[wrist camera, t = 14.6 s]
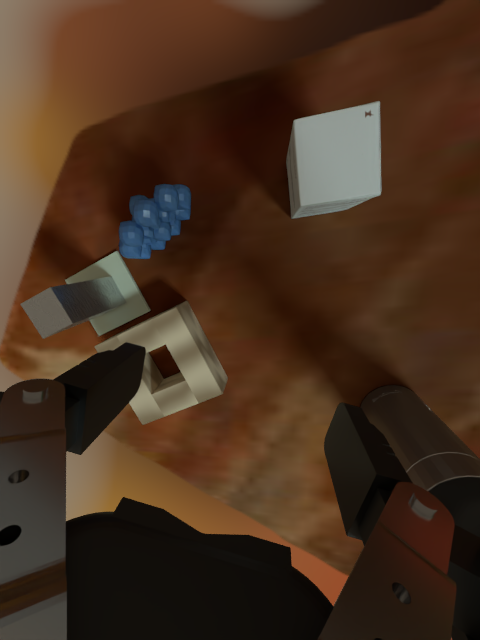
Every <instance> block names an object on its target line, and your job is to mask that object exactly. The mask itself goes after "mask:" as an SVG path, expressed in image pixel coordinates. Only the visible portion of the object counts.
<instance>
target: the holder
mask: <svg viewBox="0 0 480 640" xmlns="http://www.w3.org/2000/svg"><path fill="white" fill-rule="evenodd" d="M125 342H128V343H132V344H136V345H139V346H143V347H145V349H146V355H145V361H144V367H143V373H142V379H141V384H140V387H139V389H138V392H137V393H136V395H135V396H134V398H133V399H132V400H131V401H130V402H129V404H130V405H131V407H132V408H133V410H134V412H135V413H136V415H137V416H138V418H139V420H140V421H141V423H142V425H144V424H147V423H149V422H152V421H154V420H157V419H159V418H162V417H165V416H167V415H170V414H172V413H175V412H177V411H180V410H183V409H185V408H188V407H190V406H193V405H195V404H198V403H201V402H203V401H206V400H208V399H211V398H213V397H216V396H219V395H221V394H223V391H224V388H225V385H226V382H227V379H228V377H227V375H226V373H225V372H224V370H223V368H222V366H221V364H220V362H219V360H218V358H217V356H216V354H215V353H214V351H213V349H212V347H211V345H210V343H209V341H208V339H207V337H206V335H205V334H204V332H203V330H202V328H201V326H200V324H199V322H198V320H197V318H196V316H195V315H194V313H193V311H192V309H191V307H190V305H189V303H188V301H185V302H183V303H181V304H179V305H176V306H174V307H172V308H170V309H168V310H166V311H164V312H162V313H160V314H158V315H156V316H154V317H152V318H150V319H147V320H145V321H143V322H141V323H139V324H137V325H135V326H133V327H131V328H129V329H127V330H125V331H123V332H121V333H119V334H116V335H114V336H112V337H111V338H109V339H107V340H105V341H104V342H102V343H100V344H98V345H96V346H95V349H96V350H97V352H98V353H100V352H103V351H107V350H112V351H113V350H115V349H116V348H118V347H119V346H121V345H122V344H124V343H125ZM165 344H166V346H167V348H168V350H169V351H170V353H171V355H172V357H173V358H174V360H175V362H176V364H177V366H178V367H179V369H180V371H181V372H179V373H177V374H175V375H172V376H170V377H168V378H165V379H164V378H163V377H162V375H161V373H160V371H159V370H158V368H157V366H156V364H155V363H154V361H153V359H152V357H151V356H150V354H149V352H150V351H152V350H154V349H156V348H159V347H161V346H163V345H165Z"/></svg>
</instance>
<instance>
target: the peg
mask: <svg viewBox="0 0 480 640" xmlns="http://www.w3.org/2000/svg"><path fill="white" fill-rule="evenodd" d="M125 303H127V302H126V300H125V299H124V297H123V295H122V293H121V292H120V290H119V288H118V286H117V285H116V283H115V281H114V279H113V278H112V276H110V277H105V278H99V279H94V280H88V281H83V282H77V283H72V284H66V285H61V286H55V287H50V288H48V289H47V290H45V291H43V292H41V293H39V294H38V295H36V296H34V297H32V298H30V299H29V300H27V301H25V302H23V303H21V306H22V307H23V309H24V310H25V312H26V313H27V315H28V316H29V318H30V319H31V321H32V323H33V324H34V326H35V327H36V329H37V330H38V332H39V333H40V335H41V336H42V338H43V339H44V338H46V337H49V336H51V335H54V334H56V333H59V332H61V331H64V330H66V329H69V328H71V327H73V326H76V325H78V324H81V323H83V322H86V321H88V320H91V319H93V318H96V317H98V316H101V315H103V314H105V313H107V312H109V311H111V310H113V309H115V308H117V307H119V306H121V305H123V304H125Z"/></svg>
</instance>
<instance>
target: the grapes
mask: <svg viewBox="0 0 480 640" xmlns="http://www.w3.org/2000/svg"><path fill="white" fill-rule="evenodd" d="M190 204H191V192H190V189H189V188H188V187H187V186H185V185H181V184H177V185H170V184H161V185H157V186H155V191H154V198H151V199H149V198H147V197H146V196H143V195H136V196H132V197H131V198H130V203H129V209H130V212H131V214H132V221H124V222H121V223H120V227H119V238H120V242H119V251H120V253H121V254H122V256H123V257H126V258H137V259H149V258H150V255H151V249H152V250H163V249H165V244H166V241H167V240H170V238H171V236H173V235H180V227H181V222H180V220H188V219H190V211H191V205H190Z"/></svg>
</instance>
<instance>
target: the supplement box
mask: <svg viewBox="0 0 480 640" xmlns="http://www.w3.org/2000/svg"><path fill="white" fill-rule="evenodd" d="M286 166H287V173H288V183H289V195H290V207H291V218H292V219H293V218H299V217H305V216H312V215H318V214H324V213H330V212H336V211H342V210H346V209H348V208H351V207H353V206H355V205H358V204H360V203H362V202H364V201H366V200H368V199H371V198H373V197H376V196H379V195H380V194H381V142H380V102H379V101H377V102H373V103H368V104H364V105H360V106H355V107H351V108H347V109H342V110H337V111H333V112H328V113H323V114H319V115H314V116H309V117H304V118H300V119H296V120H294V121H293V126H292V132H291V138H290V143H289V148H288V154H287V159H286Z"/></svg>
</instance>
